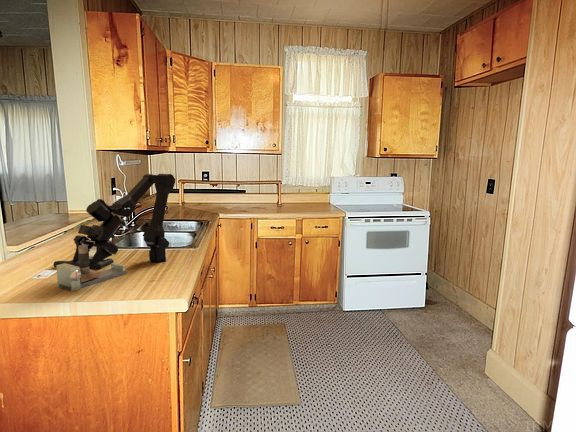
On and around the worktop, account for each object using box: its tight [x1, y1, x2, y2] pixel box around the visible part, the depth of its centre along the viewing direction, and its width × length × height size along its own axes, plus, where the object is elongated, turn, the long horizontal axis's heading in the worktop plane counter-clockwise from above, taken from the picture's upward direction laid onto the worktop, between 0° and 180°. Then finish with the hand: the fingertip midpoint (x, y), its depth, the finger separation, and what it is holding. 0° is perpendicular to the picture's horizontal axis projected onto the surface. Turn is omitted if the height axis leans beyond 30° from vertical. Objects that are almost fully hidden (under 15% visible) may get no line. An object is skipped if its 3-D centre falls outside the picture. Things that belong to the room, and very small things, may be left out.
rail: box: [55, 262, 127, 292], centre depth 131 cm, size 22×9×8 cm, turn 153°
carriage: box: [78, 245, 100, 282], centre depth 128 cm, size 7×6×12 cm
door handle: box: [52, 255, 115, 270], centre depth 151 cm, size 3×20×16 cm
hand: (81, 264), depth 127 cm, fingers open, 9 cm apart
